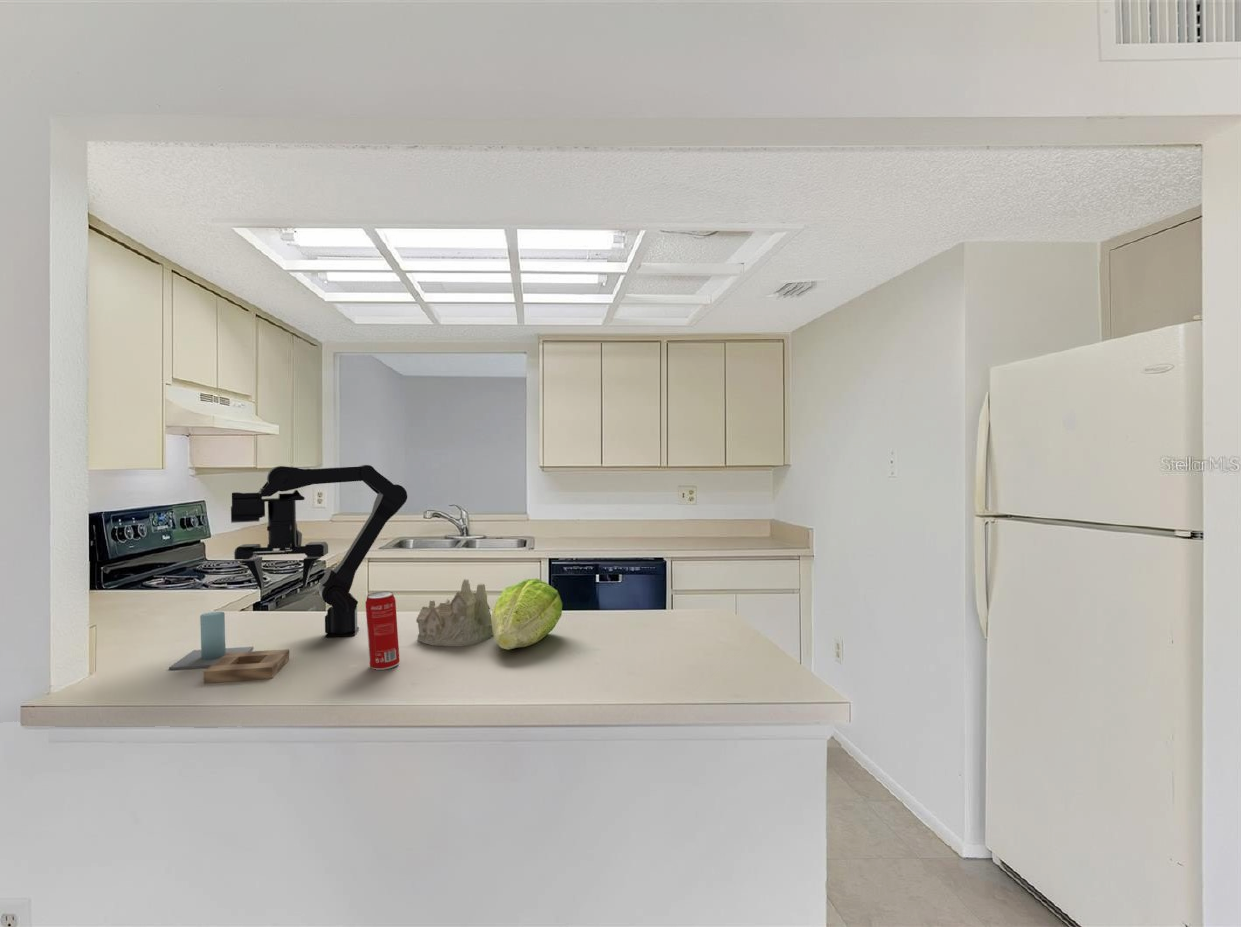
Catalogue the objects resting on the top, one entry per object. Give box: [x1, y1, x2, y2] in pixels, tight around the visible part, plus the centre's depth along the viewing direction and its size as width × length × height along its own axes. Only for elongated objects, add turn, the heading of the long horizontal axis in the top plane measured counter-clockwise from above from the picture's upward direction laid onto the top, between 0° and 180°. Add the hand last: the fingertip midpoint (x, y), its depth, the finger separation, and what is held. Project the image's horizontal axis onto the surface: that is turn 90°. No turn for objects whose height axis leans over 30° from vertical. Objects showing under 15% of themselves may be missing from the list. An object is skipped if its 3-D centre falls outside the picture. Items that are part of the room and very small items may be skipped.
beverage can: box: [365, 590, 400, 671], centre depth 137 cm, size 6×6×15 cm
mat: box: [168, 646, 254, 671], centre depth 142 cm, size 12×12×1 cm
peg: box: [199, 611, 227, 660], centre depth 142 cm, size 4×4×9 cm
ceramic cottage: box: [415, 578, 494, 647], centre depth 159 cm, size 16×16×15 cm
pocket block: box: [203, 648, 290, 684], centre depth 134 cm, size 12×12×2 cm
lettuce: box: [491, 578, 563, 651], centre depth 152 cm, size 14×24×15 cm
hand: (283, 587), depth 155 cm, fingers open, 9 cm apart
